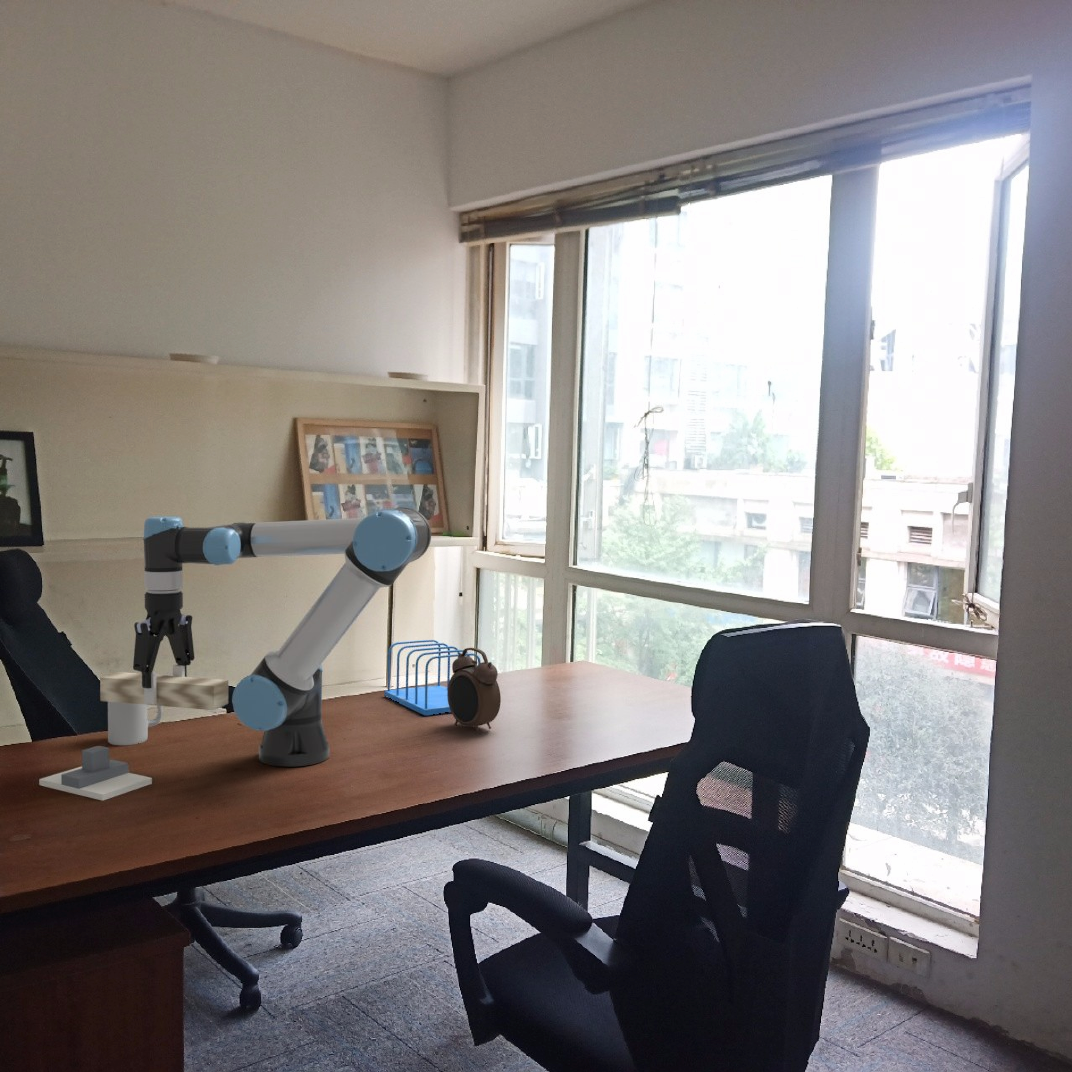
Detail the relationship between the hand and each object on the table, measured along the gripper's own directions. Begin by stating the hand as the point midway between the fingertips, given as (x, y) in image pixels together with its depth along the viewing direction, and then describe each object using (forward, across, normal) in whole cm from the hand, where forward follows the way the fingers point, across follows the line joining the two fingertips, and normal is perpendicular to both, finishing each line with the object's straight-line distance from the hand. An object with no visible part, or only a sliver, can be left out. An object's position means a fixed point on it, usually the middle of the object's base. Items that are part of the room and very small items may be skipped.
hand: (165, 699), depth 222 cm
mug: (+15, -12, -22) cm, 29 cm away
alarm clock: (+15, -61, +39) cm, 74 cm away
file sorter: (+15, -78, +16) cm, 81 cm away
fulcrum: (+15, +15, -3) cm, 21 cm away
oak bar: (+1, 0, 0) cm, 1 cm away
